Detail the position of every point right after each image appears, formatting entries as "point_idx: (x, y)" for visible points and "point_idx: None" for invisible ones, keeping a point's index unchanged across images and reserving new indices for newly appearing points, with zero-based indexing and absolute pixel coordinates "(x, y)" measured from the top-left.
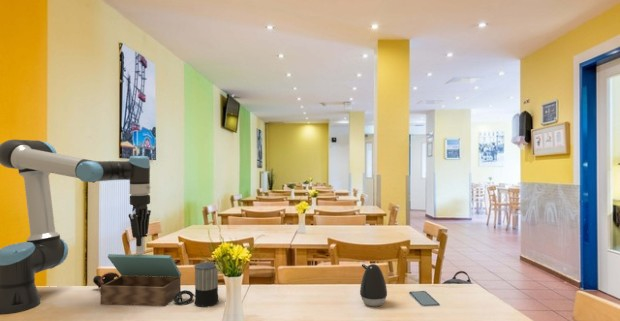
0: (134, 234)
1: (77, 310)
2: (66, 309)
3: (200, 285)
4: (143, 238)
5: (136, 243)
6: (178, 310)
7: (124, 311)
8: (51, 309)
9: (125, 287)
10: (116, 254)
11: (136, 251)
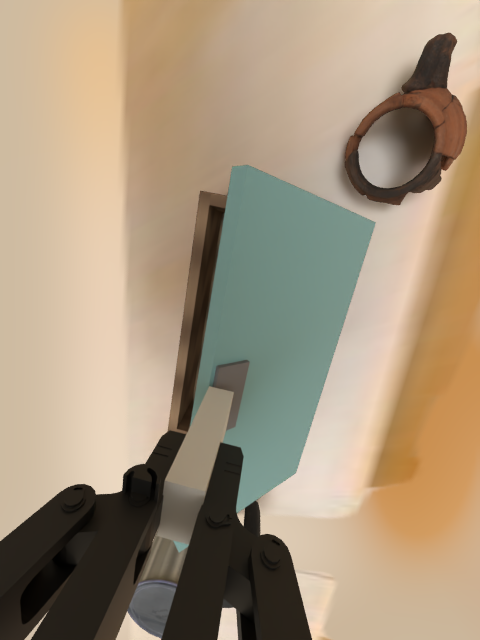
0: (51, 529)
1: (165, 146)
2: (175, 94)
3: (157, 531)
4: (176, 529)
5: (155, 447)
6: (157, 435)
7: (153, 306)
8: (177, 25)
9: (185, 302)
10: (233, 238)
11: (205, 396)
